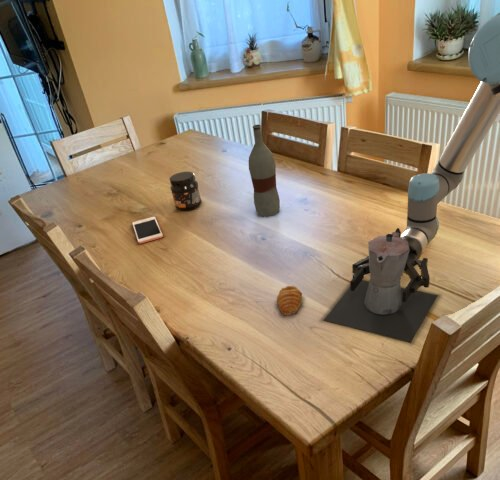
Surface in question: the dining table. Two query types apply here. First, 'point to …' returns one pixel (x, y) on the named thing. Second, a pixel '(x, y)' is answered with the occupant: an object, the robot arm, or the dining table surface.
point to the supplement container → (185, 191)
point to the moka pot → (386, 272)
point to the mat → (389, 325)
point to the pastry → (289, 300)
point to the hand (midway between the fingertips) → (377, 291)
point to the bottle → (263, 177)
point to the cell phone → (147, 230)
